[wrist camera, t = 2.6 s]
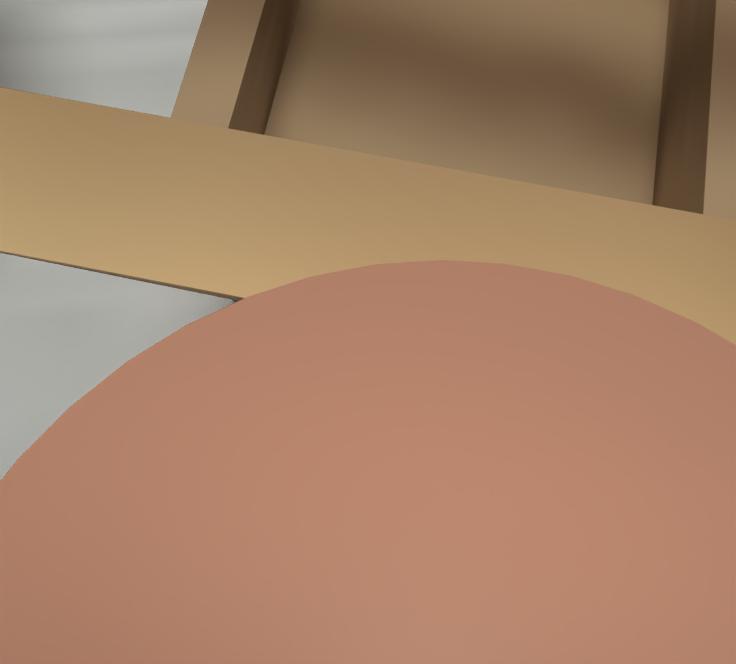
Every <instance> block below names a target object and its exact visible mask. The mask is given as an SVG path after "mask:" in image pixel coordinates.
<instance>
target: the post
mask: <svg viewBox="0 0 736 664" xmlns="http://www.w3.org/2000/svg"><path fill="white" fill-rule="evenodd" d="M0 664H736V345H734V344H733V343H731V342H729V341H728V340H726V339H724V338H722V337H721V336H719V335H717V334H716V333H714V332H712V331H710V330H709V329H707V328H705V327H703V326H702V325H700V324H698V323H697V322H694V321H692V320H690V319H688V318H685V317H683V316H681V315H678V314H676V313H674V312H672V311H669V310H667V309H665V308H662V307H660V306H658V305H656V304H653V303H651V302H649V301H647V300H644V299H642V298H640V297H637V296H635V295H633V294H629V293H626V292H623V291H619V290H616V289H613V288H610V287H606V286H603V285H600V284H597V283H593V282H590V281H587V280H583V279H580V278H577V277H574V276H570V275H565V274H560V273H554V272H549V271H543V270H538V269H532V268H526V267H521V266H515V265H510V264H502V263H485V262H467V261H450V260H432V261H417V262H401V263H386V264H374V265H369V266H363V267H358V268H353V269H348V270H342V271H337V272H332V273H327V274H321V275H316V276H311V277H308V278H305V279H302V280H299V281H295V282H292V283H289V284H286V285H283V286H280V287H277V288H274V289H271V290H267V291H264V292H261V293H258V294H255V295H252V296H249V297H246V298H244V299H242V300H240V301H238V302H236V303H233V304H231V305H229V306H227V307H225V308H223V309H220V310H218V311H216V312H214V313H212V314H210V315H207V316H205V317H203V318H201V319H199V320H197V321H194V322H192V323H190V324H188V325H186V326H184V327H183V328H181V329H179V330H178V331H176V332H175V333H173V334H171V335H170V336H168V337H166V338H165V339H163V340H162V341H160V342H158V343H157V344H155V345H154V346H152V347H150V348H149V349H147V350H145V351H144V352H142V353H141V354H139V355H137V356H136V357H134V358H132V359H131V360H129V361H128V362H126V363H125V364H124V365H122V366H121V367H120V368H119V369H117V370H116V371H115V372H114V373H112V374H111V375H110V376H109V377H107V378H106V379H105V380H104V381H102V382H101V383H100V384H98V385H97V386H96V387H95V388H93V389H92V390H91V391H90V392H88V393H87V394H86V395H85V396H83V397H82V398H81V399H80V400H78V401H77V402H76V403H75V404H73V405H72V406H71V407H70V408H69V409H68V410H67V411H66V412H65V413H64V414H63V415H62V416H61V417H60V418H59V419H58V420H57V421H56V422H55V423H54V424H53V425H52V426H51V427H50V428H49V429H48V430H47V431H46V432H45V433H44V434H43V435H42V436H41V437H40V438H39V439H38V440H37V441H36V442H35V443H34V444H33V445H32V446H31V447H30V448H29V449H28V450H27V451H26V452H25V453H24V454H23V455H22V456H21V457H20V458H19V459H18V460H17V461H16V462H15V463H14V465H13V466H12V467H11V468H10V470H9V471H8V472H7V473H6V475H5V476H4V477H3V479H2V480H1V481H0Z"/></svg>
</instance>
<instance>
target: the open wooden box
mask: <svg viewBox="0 0 736 664" xmlns="http://www.w3.org/2000/svg"><path fill="white" fill-rule="evenodd" d="M171 118H173V119H179V120H184V121H190V122H195V123H201V124H206V125H212V126H217V127H223V128H229V129H234V130H240V131H245V132H251V133H256V134H262V135H267V136H273V137H278V138H284V139H289V140H295V141H300V142H306V143H311V144H317V145H323V146H328V147H334V148H339V149H345V150H350V151H356V152H361V153H367V154H372V155H378V156H383V157H389V158H394V159H400V160H405V161H411V162H416V163H422V164H428V165H433V166H439V167H444V168H450V169H455V170H461V171H466V172H472V173H477V174H483V175H488V176H494V177H499V178H505V179H510V180H516V181H521V182H527V183H533V184H538V185H544V186H549V187H555V188H560V189H566V190H571V191H577V192H582V193H588V194H593V195H599V196H604V197H610V198H615V199H621V200H627V201H632V202H638V203H643V204H649V205H654V206H660V207H665V208H671V209H676V210H682V211H687V212H693V213H698V214H704V215H709V216H715V217H720V218H726V219H732V220H736V0H208V3H207V6H206V9H205V12H204V15H203V18H202V22H201V25H200V28H199V31H198V34H197V37H196V40H195V44H194V47H193V50H192V53H191V56H190V59H189V62H188V65H187V69H186V72H185V75H184V78H183V81H182V84H181V87H180V91H179V94H178V97H177V100H176V103H175V106H174V109H173V112H172V116H171Z"/></svg>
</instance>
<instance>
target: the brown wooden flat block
mask: <svg viewBox="0 0 736 664" xmlns="http://www.w3.org/2000/svg"><path fill="white" fill-rule="evenodd" d="M0 253H5V254H10V255H15V256H20V257H25V258H30V259H34V260H39V261H44V262H49V263H54V264H59V265H64V266H69V267H74V268H79V269H84V270H89V271H94V272H99V273H104V274H109V275H114V276H119V277H123V278H128V279H133V280H138V281H143V282H148V283H153V284H158V285H163V286H168V287H173V288H178V289H183V290H188V291H193V292H198V293H203V294H208V295H212V296H217V297H222V298H227V299H232V300H237V301H240V300H242V299H244V298H246V297H249V296H252V295H255V294H258V293H261V292H264V291H267V290H271V289H274V288H277V287H280V286H283V285H286V284H289V283H292V282H295V281H299V280H302V279H305V278H308V277H311V276H316V275H321V274H327V273H332V272H337V271H342V270H348V269H353V268H358V267H363V266H369V265H374V264H386V263H401V262H417V261H432V260H450V261H467V262H485V263H502V264H510V265H515V266H521V267H526V268H532V269H538V270H543V271H549V272H554V273H560V274H565V275H570V276H574V277H577V278H580V279H583V280H587V281H590V282H593V283H597V284H600V285H603V286H606V287H610V288H613V289H616V290H619V291H623V292H626V293H629V294H633V295H635V296H637V297H640V298H642V299H644V300H647V301H649V302H651V303H653V304H656V305H658V306H660V307H662V308H665V309H667V310H669V311H672V312H674V313H676V314H678V315H681V316H683V317H685V318H688V319H690V320H692V321H694V322H697V323H698V324H700V325H702V326H703V327H705V328H707V329H709V330H710V331H712V332H714V333H716V334H717V335H719V336H721V337H722V338H724V339H726V340H728V341H729V342H731V343H733V344H734V345H736V220H732V219H726V218H720V217H715V216H709V215H704V214H698V213H693V212H687V211H682V210H676V209H671V208H665V207H660V206H654V205H649V204H643V203H638V202H632V201H627V200H621V199H615V198H610V197H604V196H599V195H593V194H588V193H582V192H577V191H571V190H566V189H560V188H555V187H549V186H544V185H538V184H533V183H527V182H521V181H516V180H510V179H505V178H499V177H494V176H488V175H483V174H477V173H472V172H466V171H461V170H455V169H450V168H444V167H439V166H433V165H428V164H422V163H416V162H411V161H405V160H400V159H394V158H389V157H383V156H378V155H372V154H367V153H361V152H356V151H350V150H345V149H339V148H334V147H328V146H323V145H317V144H311V143H306V142H300V141H295V140H289V139H284V138H278V137H273V136H267V135H262V134H256V133H251V132H245V131H240V130H234V129H229V128H223V127H217V126H212V125H206V124H201V123H195V122H190V121H184V120H179V119H173V118H168V117H162V116H157V115H151V114H146V113H140V112H135V111H129V110H124V109H118V108H112V107H107V106H101V105H96V104H90V103H85V102H79V101H74V100H68V99H63V98H57V97H52V96H46V95H41V94H35V93H30V92H24V91H19V90H13V89H7V88H2V87H0Z"/></svg>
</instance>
